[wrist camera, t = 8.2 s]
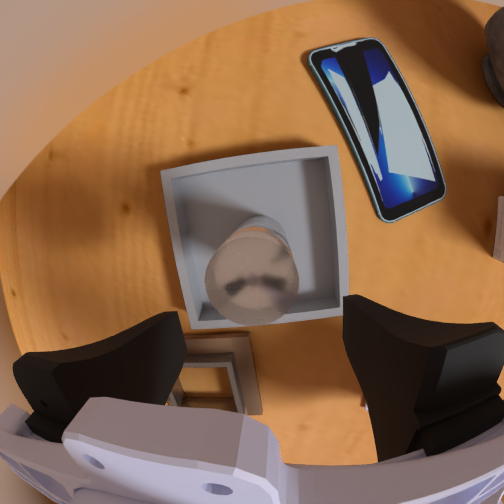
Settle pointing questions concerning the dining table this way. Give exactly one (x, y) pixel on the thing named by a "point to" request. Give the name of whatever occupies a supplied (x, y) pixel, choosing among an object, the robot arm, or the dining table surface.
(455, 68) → the dining table surface
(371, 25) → the dining table surface
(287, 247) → the metal peg
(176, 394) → the collar stand
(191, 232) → the tray
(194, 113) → the dining table surface
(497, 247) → the light bulb box
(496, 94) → the pitcher
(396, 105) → the smartphone
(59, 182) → the dining table surface
